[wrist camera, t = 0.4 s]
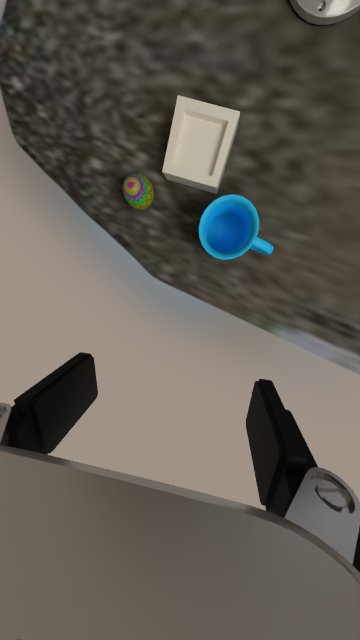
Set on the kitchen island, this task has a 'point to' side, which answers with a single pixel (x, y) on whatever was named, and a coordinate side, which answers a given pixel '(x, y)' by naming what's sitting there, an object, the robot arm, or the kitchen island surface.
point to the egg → (138, 191)
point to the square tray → (199, 143)
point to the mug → (231, 228)
